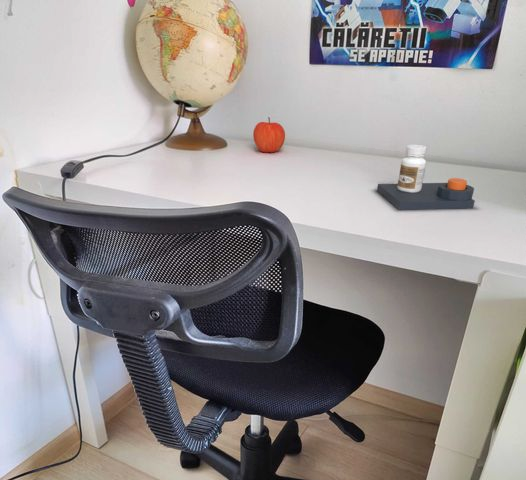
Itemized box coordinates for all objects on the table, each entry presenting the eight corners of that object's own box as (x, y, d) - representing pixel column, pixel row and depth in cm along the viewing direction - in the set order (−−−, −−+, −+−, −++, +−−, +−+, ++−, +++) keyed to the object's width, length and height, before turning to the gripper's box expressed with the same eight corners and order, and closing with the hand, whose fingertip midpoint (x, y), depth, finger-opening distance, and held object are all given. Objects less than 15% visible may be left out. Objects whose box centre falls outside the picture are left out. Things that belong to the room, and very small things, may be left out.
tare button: (460, 186, 91) (462, 177, 90) (468, 191, 88) (470, 182, 88) (443, 186, 91) (445, 178, 90) (451, 191, 88) (453, 182, 87)
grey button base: (446, 189, 99) (449, 174, 97) (476, 208, 89) (480, 191, 87) (376, 191, 97) (378, 175, 95) (398, 210, 87) (401, 193, 85)
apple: (253, 154, 122) (253, 119, 118) (253, 148, 129) (253, 114, 124) (285, 155, 122) (286, 120, 118) (283, 148, 129) (285, 115, 125)
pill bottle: (392, 189, 93) (399, 145, 89) (405, 185, 96) (412, 142, 91) (412, 194, 90) (420, 149, 86) (425, 190, 93) (434, 146, 89)
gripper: (516, -109, 74) (487, 21, 83) (602, -104, 76) (565, 23, 85) (490, -99, 80) (466, 21, 89) (570, -94, 82) (538, 23, 91)
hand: (514, 22), depth 87 cm, fingers open, 8 cm apart
